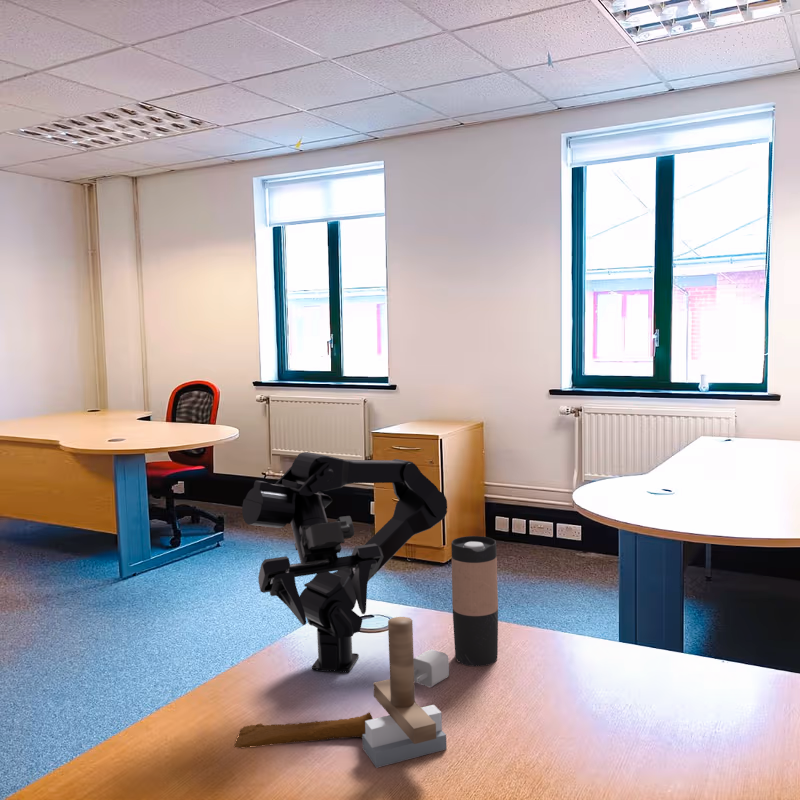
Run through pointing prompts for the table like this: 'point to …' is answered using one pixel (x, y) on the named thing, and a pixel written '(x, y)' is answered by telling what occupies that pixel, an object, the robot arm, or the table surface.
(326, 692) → the table surface
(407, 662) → the t bar
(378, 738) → the ridge block
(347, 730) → the primitive tool
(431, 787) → the table surface
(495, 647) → the travel mug
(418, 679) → the usb wall charger
